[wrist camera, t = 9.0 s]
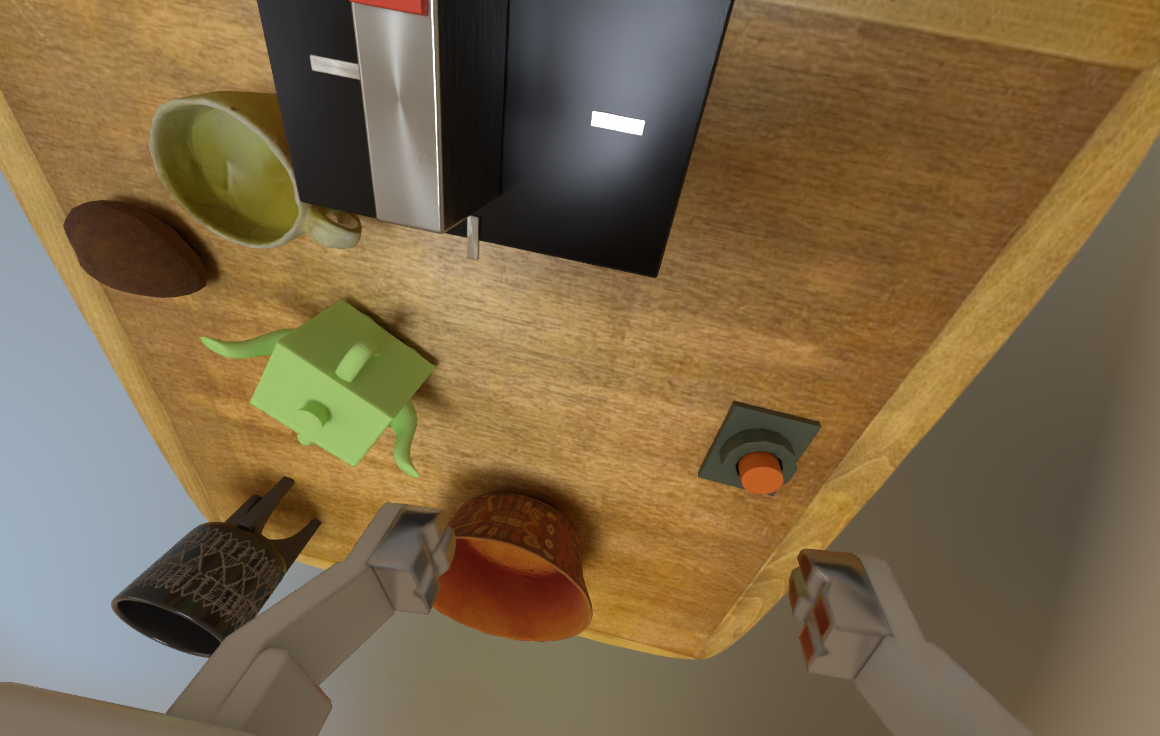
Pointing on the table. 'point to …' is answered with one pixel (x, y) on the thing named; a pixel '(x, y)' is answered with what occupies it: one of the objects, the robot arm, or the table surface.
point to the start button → (760, 472)
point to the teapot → (338, 382)
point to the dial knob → (432, 106)
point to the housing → (757, 442)
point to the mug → (239, 171)
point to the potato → (133, 250)
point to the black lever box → (529, 120)
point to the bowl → (515, 570)
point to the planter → (212, 579)
